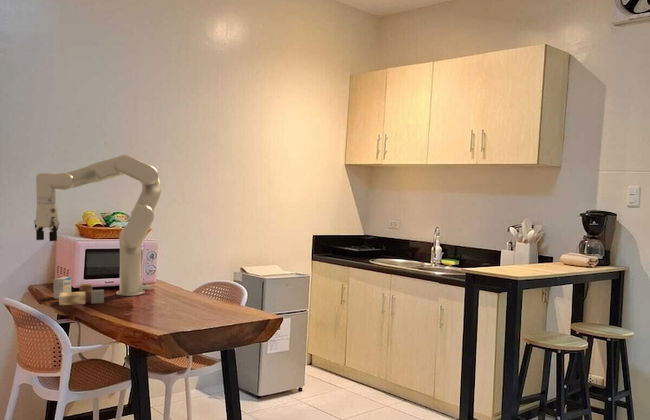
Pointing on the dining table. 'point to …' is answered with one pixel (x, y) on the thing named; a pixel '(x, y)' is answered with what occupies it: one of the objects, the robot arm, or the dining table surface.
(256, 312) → the dining table surface
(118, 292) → the robot arm
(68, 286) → the medicine box
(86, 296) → the walnut block
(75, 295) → the birch block
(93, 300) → the slate block
